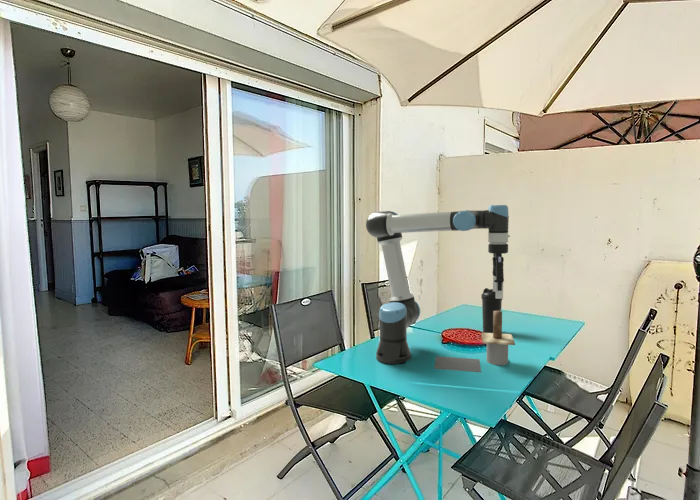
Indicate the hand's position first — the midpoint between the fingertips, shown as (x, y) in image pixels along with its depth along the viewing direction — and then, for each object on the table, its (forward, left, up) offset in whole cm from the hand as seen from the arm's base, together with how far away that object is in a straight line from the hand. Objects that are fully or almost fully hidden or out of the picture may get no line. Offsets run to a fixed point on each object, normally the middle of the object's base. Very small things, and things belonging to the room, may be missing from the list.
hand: (497, 294), depth 163 cm
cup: (0, 0, -29) cm, 29 cm away
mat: (-16, -6, -29) cm, 33 cm away
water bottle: (+1, +42, -29) cm, 51 cm away
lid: (0, 0, -19) cm, 19 cm away
